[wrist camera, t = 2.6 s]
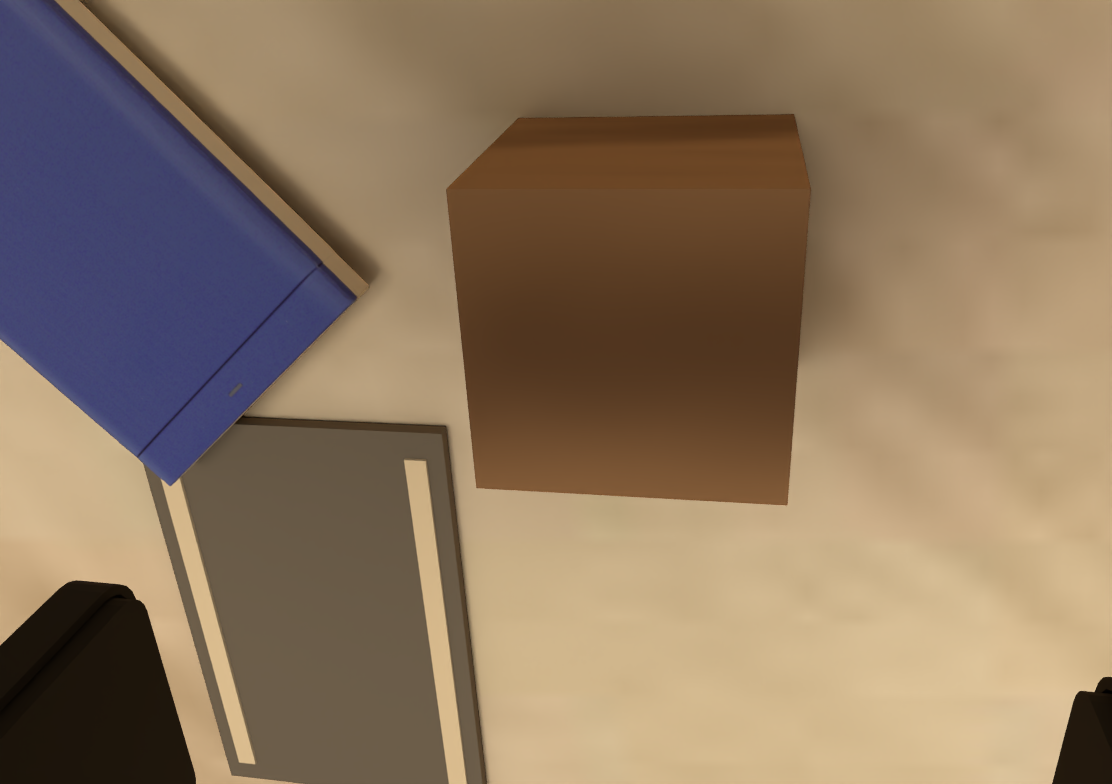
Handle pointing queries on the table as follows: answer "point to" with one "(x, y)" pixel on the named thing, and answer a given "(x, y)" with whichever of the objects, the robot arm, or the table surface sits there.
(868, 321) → the table surface
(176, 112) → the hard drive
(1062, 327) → the table surface
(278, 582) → the mat
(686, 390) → the cube
